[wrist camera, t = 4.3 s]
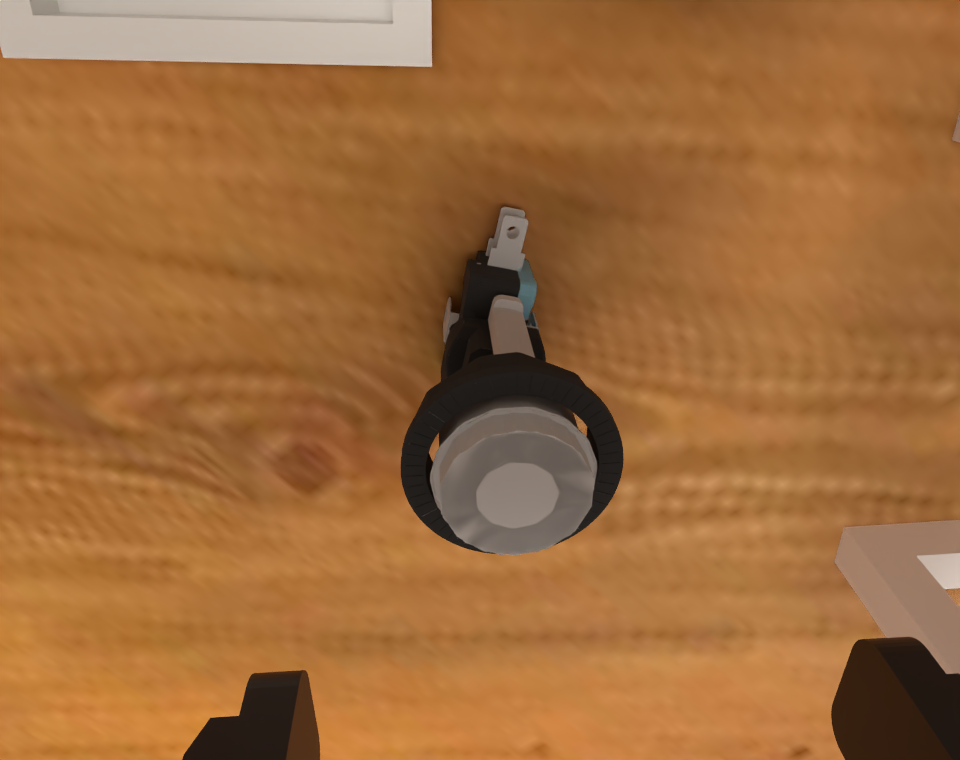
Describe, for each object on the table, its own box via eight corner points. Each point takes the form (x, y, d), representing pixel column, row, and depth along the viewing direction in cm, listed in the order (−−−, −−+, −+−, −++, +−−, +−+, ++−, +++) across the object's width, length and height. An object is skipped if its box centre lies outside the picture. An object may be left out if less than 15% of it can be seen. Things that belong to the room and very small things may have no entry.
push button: (432, 187, 23) (433, 318, 14) (593, 220, 24) (687, 362, 15) (399, 369, 26) (382, 568, 17) (542, 393, 27) (595, 593, 18)
